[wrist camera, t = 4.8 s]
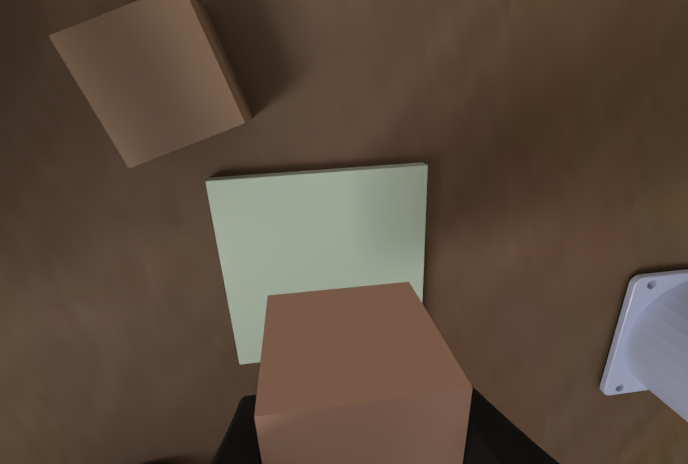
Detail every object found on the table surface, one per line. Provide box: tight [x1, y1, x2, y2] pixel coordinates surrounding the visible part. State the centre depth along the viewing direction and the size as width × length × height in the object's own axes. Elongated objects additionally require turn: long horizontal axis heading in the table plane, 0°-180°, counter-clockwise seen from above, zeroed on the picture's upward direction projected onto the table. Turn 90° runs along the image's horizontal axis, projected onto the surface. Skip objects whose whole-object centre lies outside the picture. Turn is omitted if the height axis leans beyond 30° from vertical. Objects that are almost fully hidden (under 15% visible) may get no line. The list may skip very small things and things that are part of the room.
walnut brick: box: [49, 0, 253, 169], centre depth 12 cm, size 4×4×3 cm
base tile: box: [205, 162, 428, 365], centre depth 17 cm, size 9×9×1 cm
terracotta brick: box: [254, 282, 473, 464], centre depth 9 cm, size 4×4×4 cm
